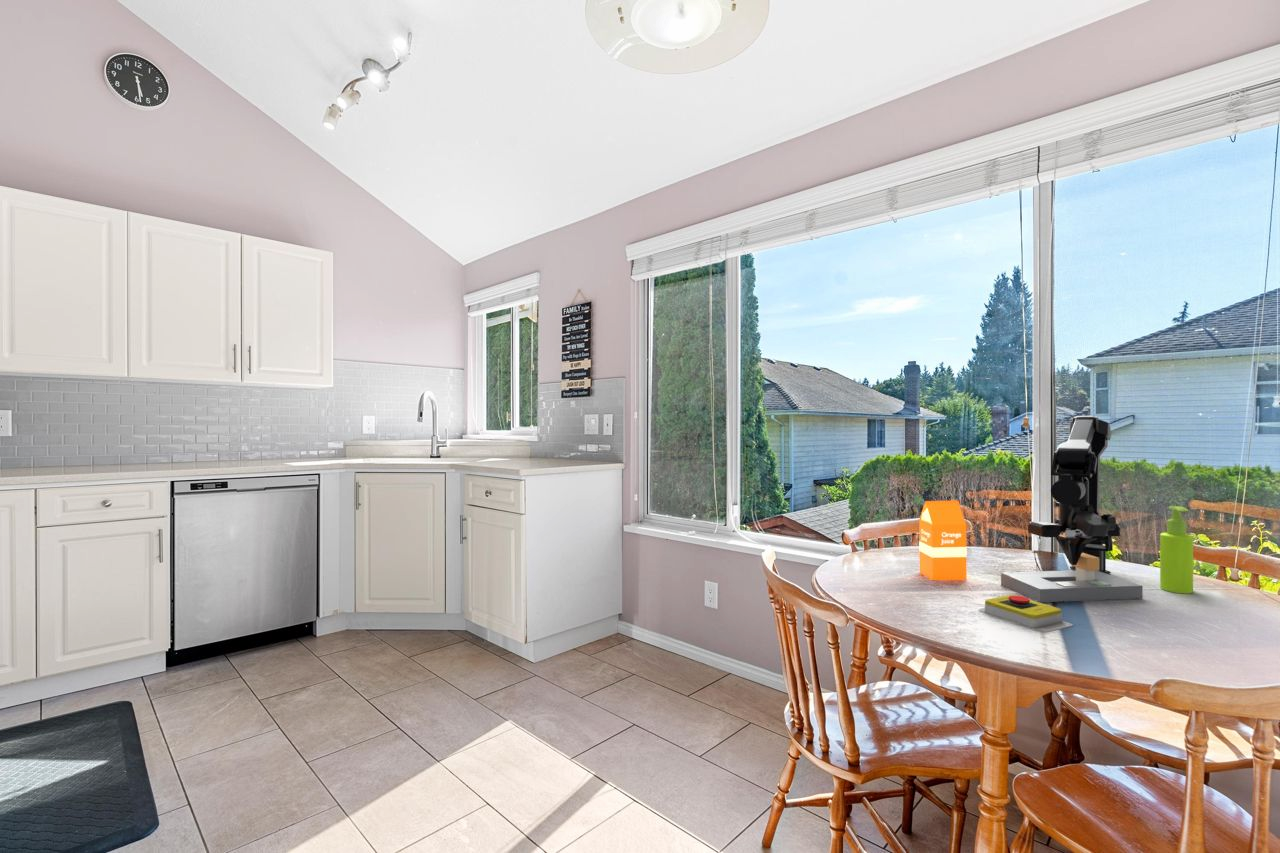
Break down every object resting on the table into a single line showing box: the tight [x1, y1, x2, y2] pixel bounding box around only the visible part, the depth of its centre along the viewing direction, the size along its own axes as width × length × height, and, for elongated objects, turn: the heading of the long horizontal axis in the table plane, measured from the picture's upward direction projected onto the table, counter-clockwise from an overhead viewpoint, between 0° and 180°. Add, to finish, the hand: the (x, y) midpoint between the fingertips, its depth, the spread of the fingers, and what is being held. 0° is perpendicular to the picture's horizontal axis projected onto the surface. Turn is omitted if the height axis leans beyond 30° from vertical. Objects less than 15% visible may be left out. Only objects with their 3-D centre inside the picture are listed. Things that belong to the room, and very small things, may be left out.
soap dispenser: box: [1159, 505, 1194, 594], centre depth 144 cm, size 6×7×20 cm
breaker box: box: [1000, 569, 1144, 603], centre depth 145 cm, size 24×14×3 cm, turn 92°
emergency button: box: [978, 594, 1073, 633], centre depth 128 cm, size 9×4×15 cm
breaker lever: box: [1070, 553, 1099, 581], centre depth 145 cm, size 3×5×7 cm, turn 2°
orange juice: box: [918, 500, 968, 581], centre depth 160 cm, size 8×9×20 cm
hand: (1073, 564), depth 145 cm, fingers closed
